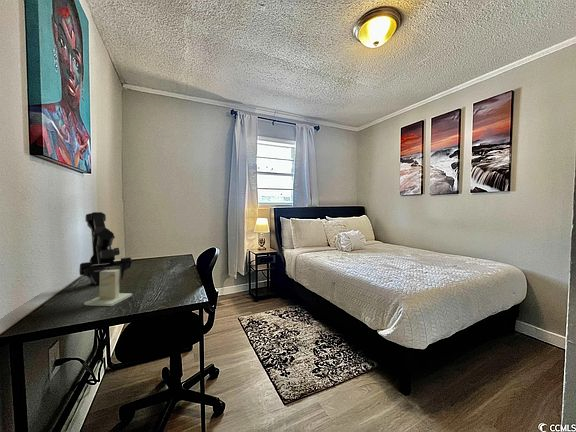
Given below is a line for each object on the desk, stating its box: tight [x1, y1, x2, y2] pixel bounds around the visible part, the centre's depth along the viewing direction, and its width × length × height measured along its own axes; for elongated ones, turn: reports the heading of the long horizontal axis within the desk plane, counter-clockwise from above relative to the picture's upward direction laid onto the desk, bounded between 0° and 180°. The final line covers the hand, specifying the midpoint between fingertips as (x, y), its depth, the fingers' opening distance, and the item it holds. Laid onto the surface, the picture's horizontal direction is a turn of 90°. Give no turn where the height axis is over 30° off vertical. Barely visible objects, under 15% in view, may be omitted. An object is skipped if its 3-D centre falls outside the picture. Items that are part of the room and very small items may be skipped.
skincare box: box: [98, 268, 120, 300], centre depth 105 cm, size 6×4×12 cm
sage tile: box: [83, 292, 133, 307], centre depth 105 cm, size 12×12×1 cm
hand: (109, 281), depth 105 cm, fingers open, 9 cm apart
